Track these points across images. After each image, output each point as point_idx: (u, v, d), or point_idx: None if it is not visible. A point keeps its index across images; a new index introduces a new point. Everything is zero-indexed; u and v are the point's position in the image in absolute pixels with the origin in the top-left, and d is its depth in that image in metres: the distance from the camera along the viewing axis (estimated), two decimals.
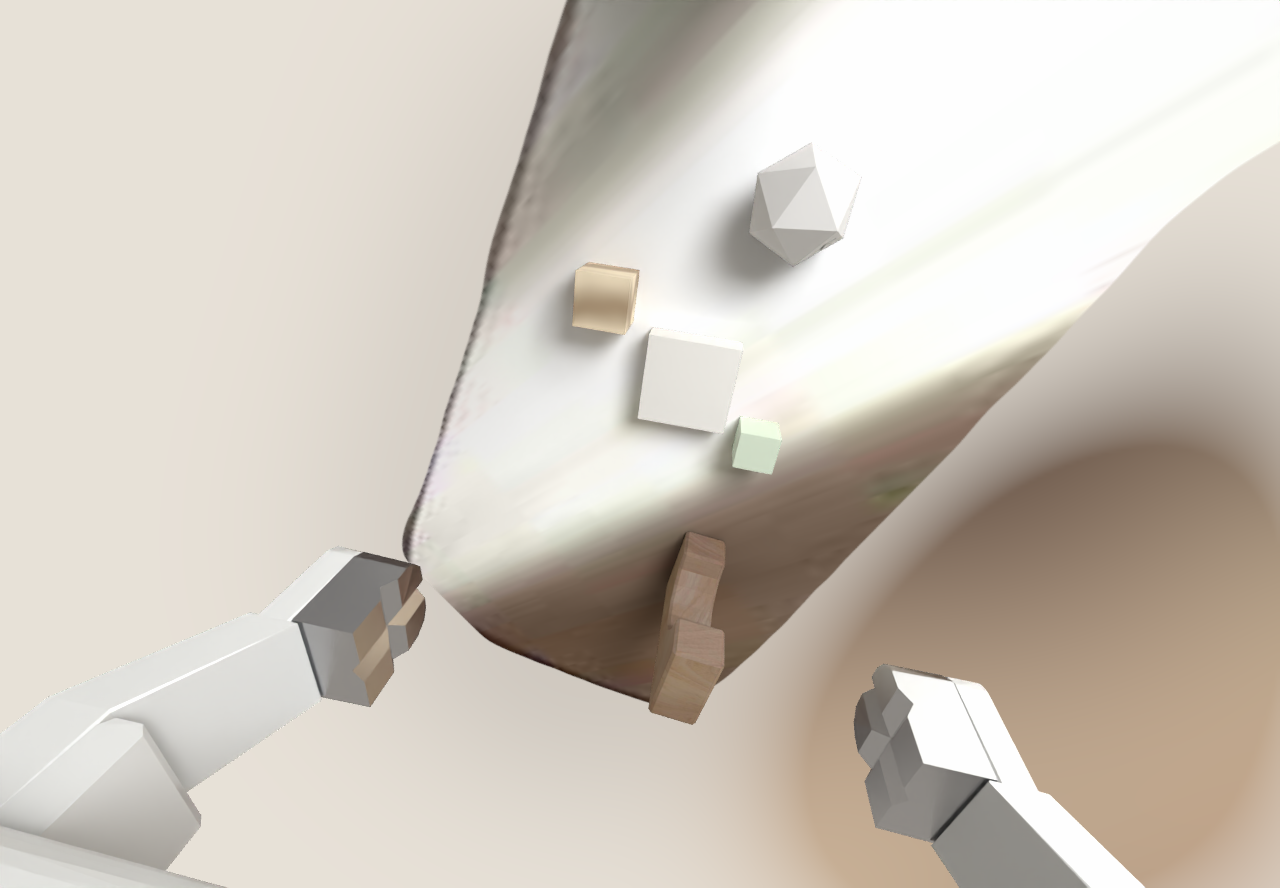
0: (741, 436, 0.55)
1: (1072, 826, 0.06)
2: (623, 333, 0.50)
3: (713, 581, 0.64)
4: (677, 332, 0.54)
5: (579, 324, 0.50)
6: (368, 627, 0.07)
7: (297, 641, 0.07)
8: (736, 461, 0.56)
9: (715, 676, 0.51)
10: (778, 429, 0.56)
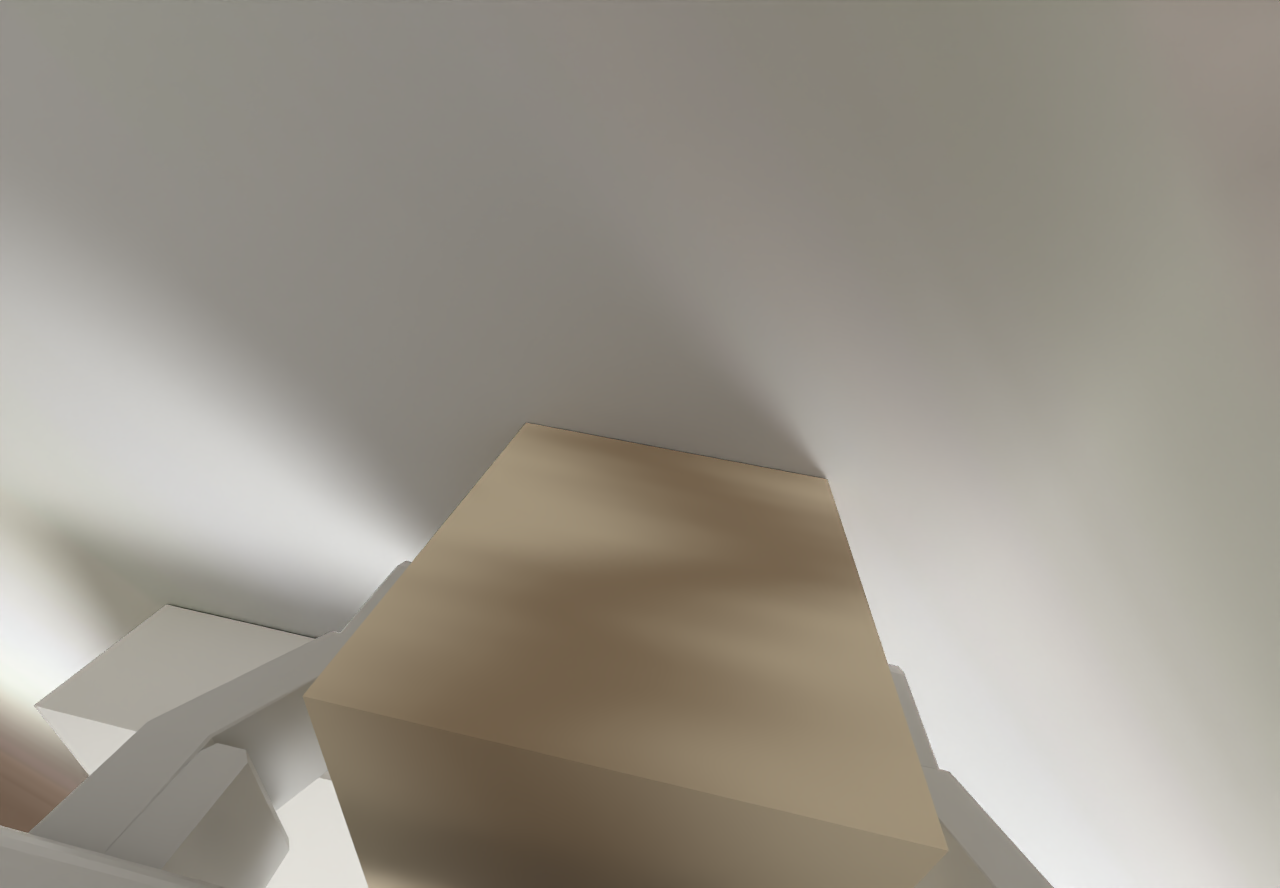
0: None
1: (967, 801, 0.06)
2: None
3: None
4: None
5: (351, 755, 0.05)
6: None
7: None
8: None
9: None
10: None
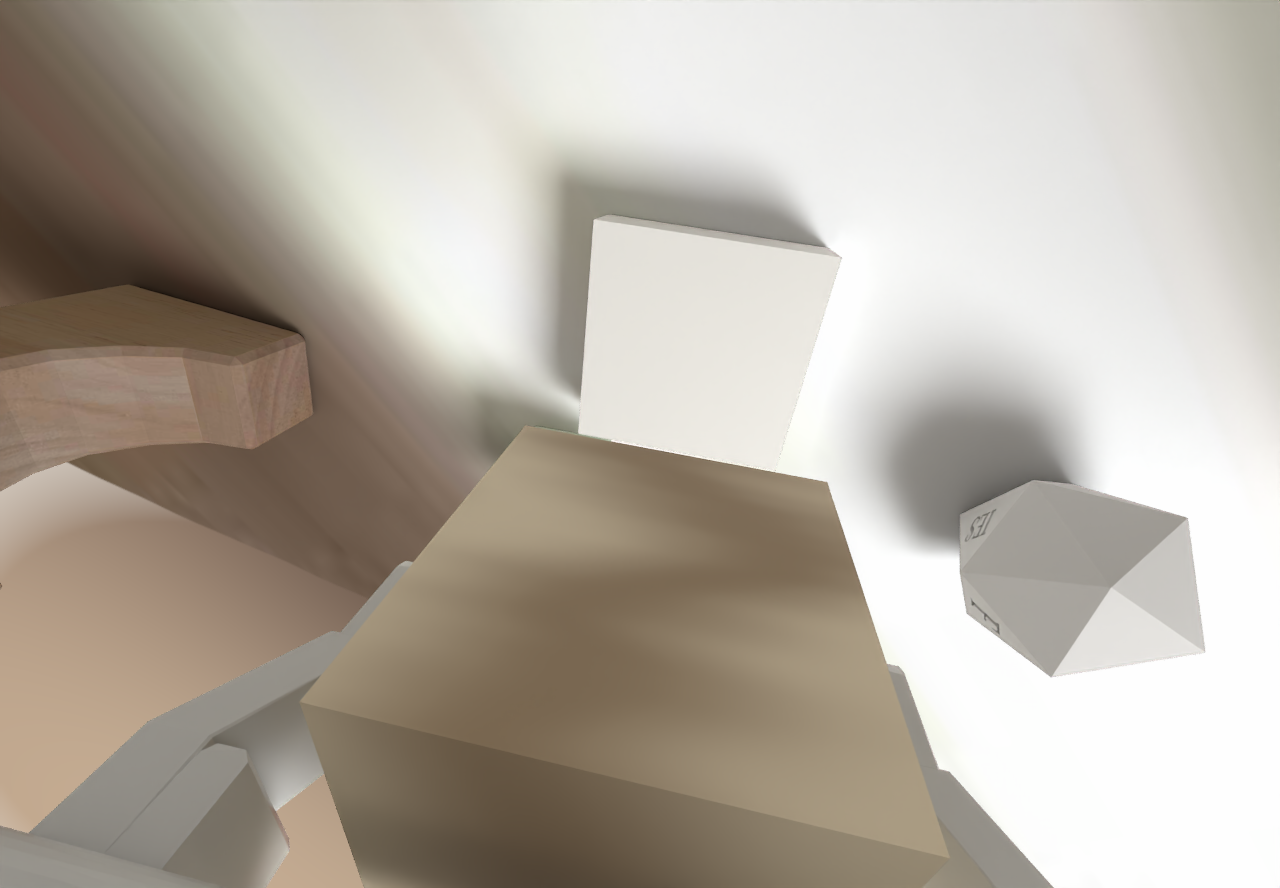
0: None
1: (967, 801, 0.06)
2: None
3: (192, 433, 0.26)
4: None
5: (349, 760, 0.05)
6: None
7: None
8: None
9: None
10: None
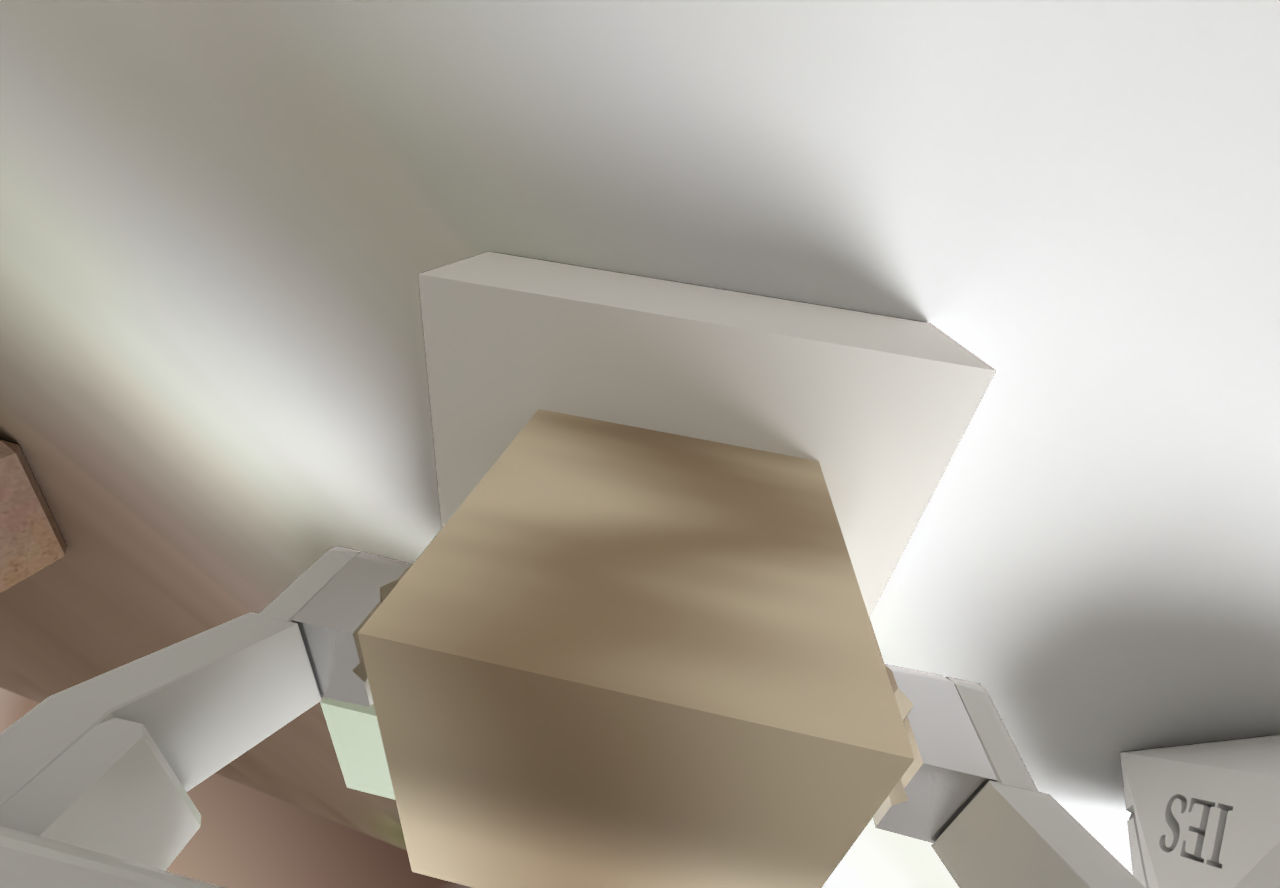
0: None
1: (1071, 825, 0.06)
2: (418, 870, 0.08)
3: None
4: None
5: (397, 689, 0.05)
6: None
7: (297, 641, 0.07)
8: (349, 715, 0.14)
9: None
10: None
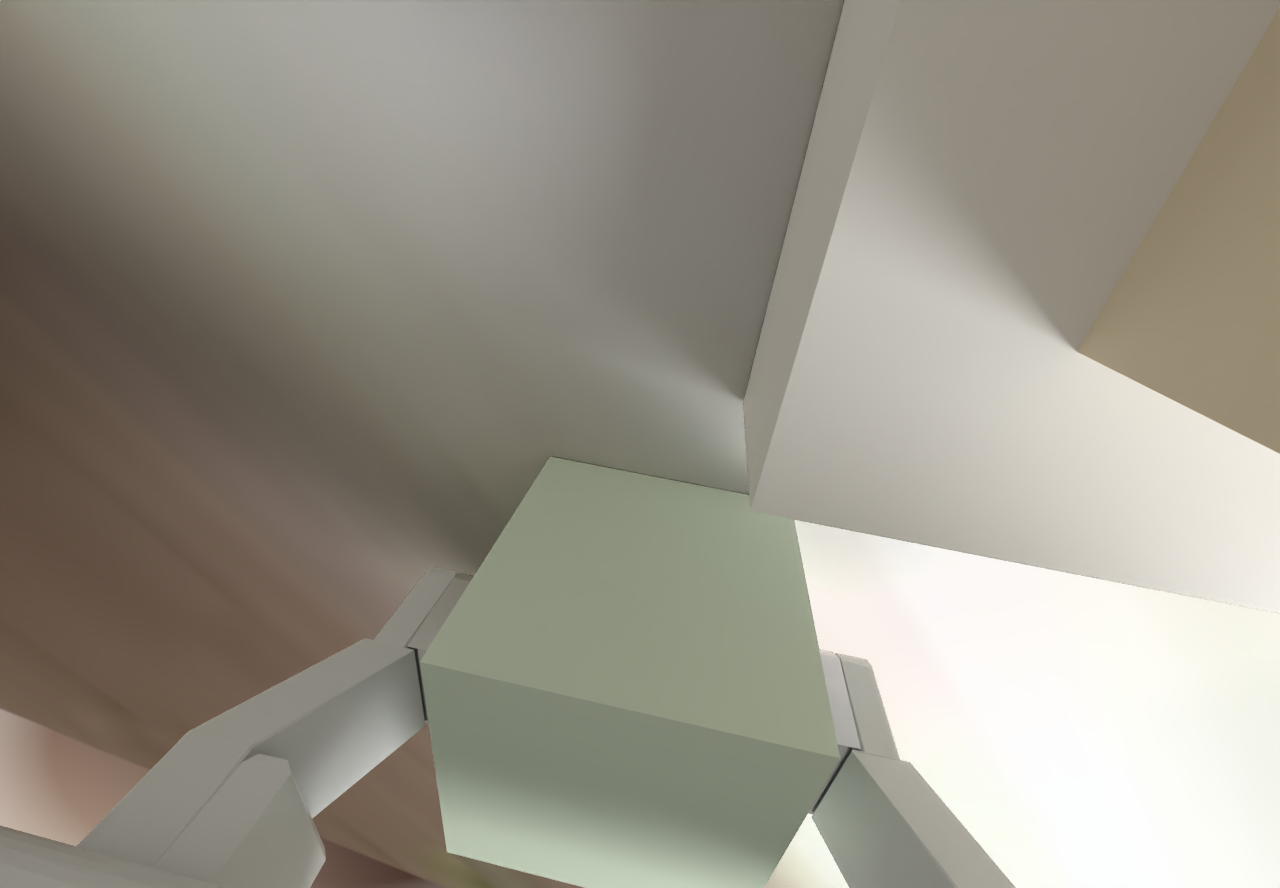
0: (793, 754, 0.05)
1: (927, 792, 0.06)
2: None
3: None
4: None
5: None
6: None
7: (412, 668, 0.07)
8: (493, 695, 0.05)
9: None
10: None
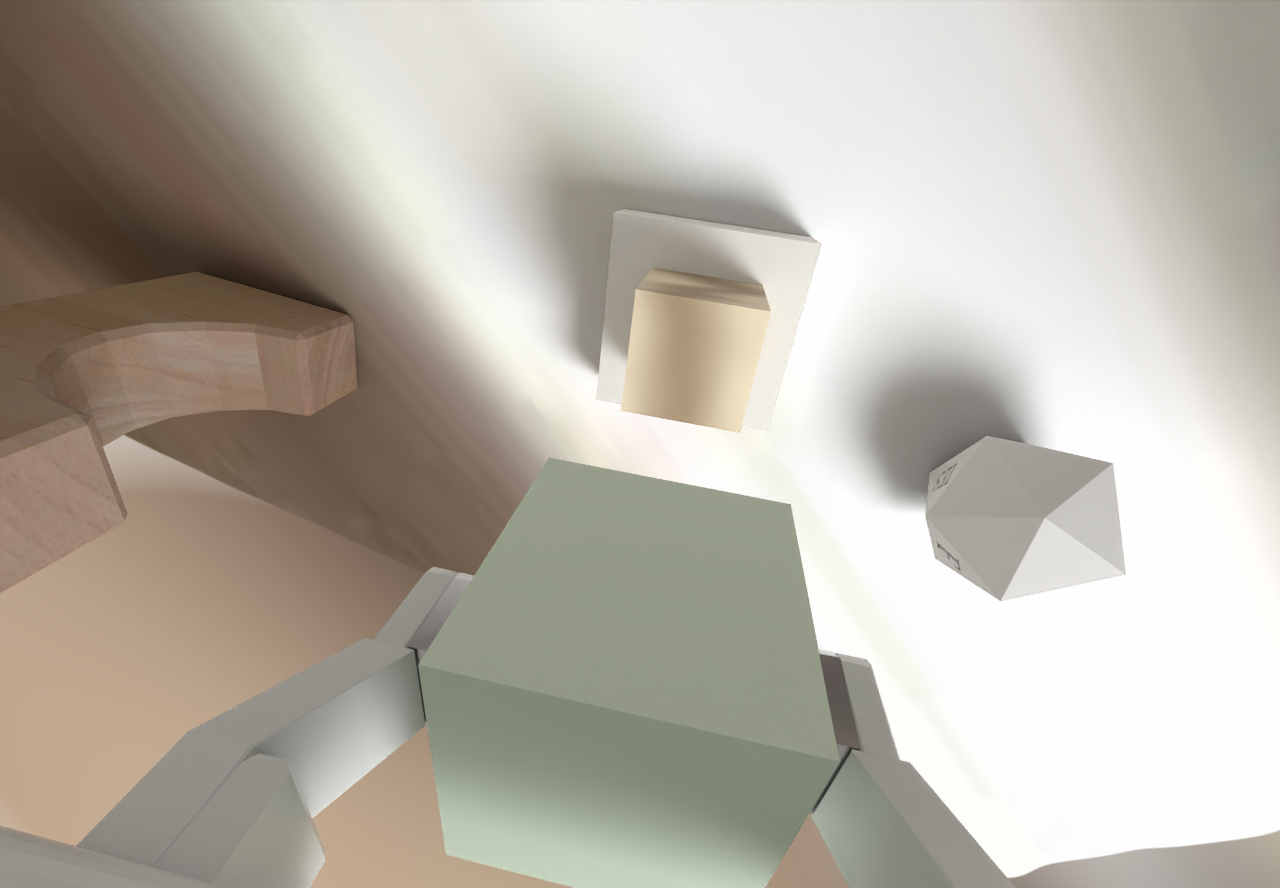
0: (792, 757, 0.05)
1: (927, 792, 0.06)
2: (624, 408, 0.23)
3: (259, 400, 0.30)
4: None
5: (641, 310, 0.20)
6: None
7: (412, 668, 0.07)
8: (491, 698, 0.05)
9: None
10: None
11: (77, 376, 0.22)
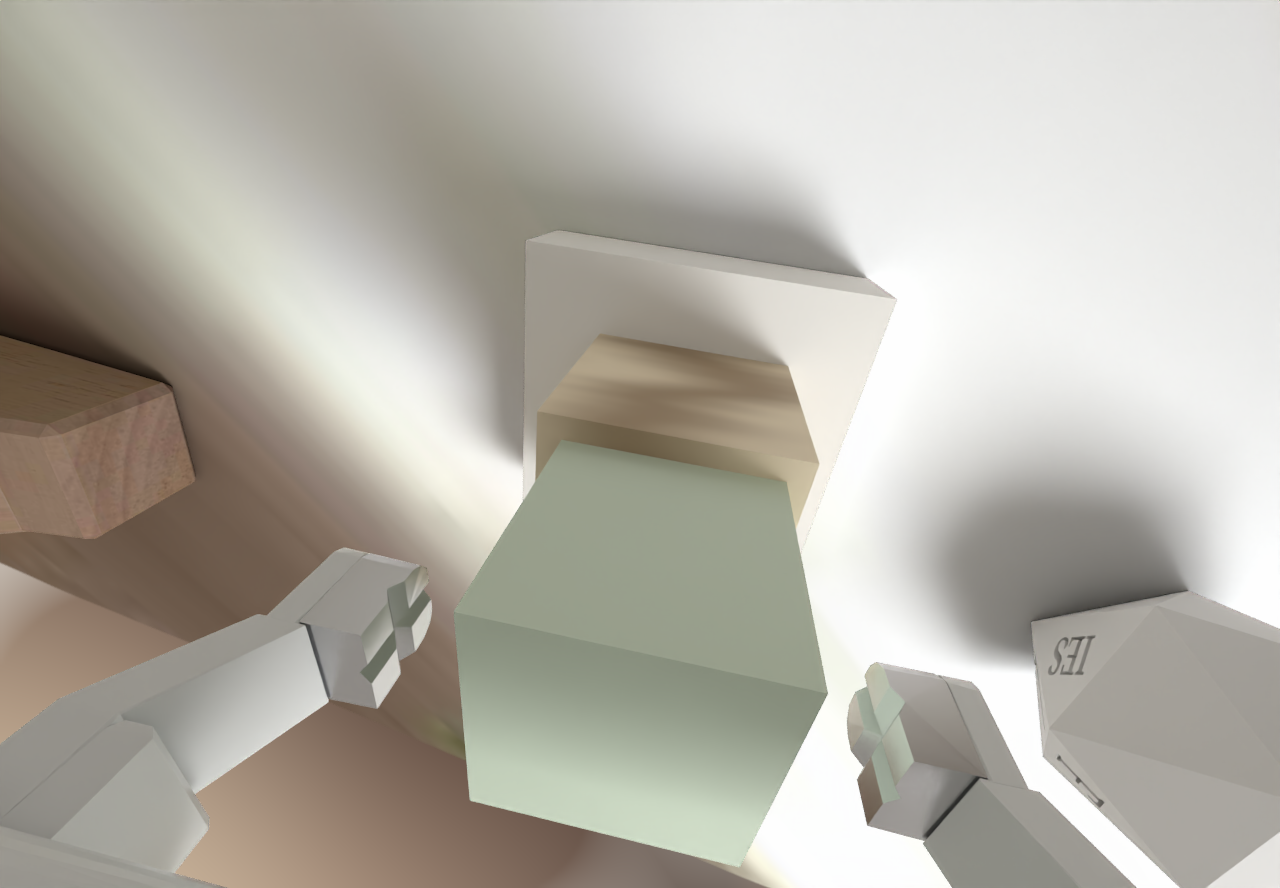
0: (786, 691, 0.06)
1: (1061, 823, 0.06)
2: None
3: (4, 522, 0.19)
4: None
5: (551, 448, 0.10)
6: (376, 629, 0.07)
7: (305, 643, 0.07)
8: (518, 642, 0.06)
9: None
10: None
11: None
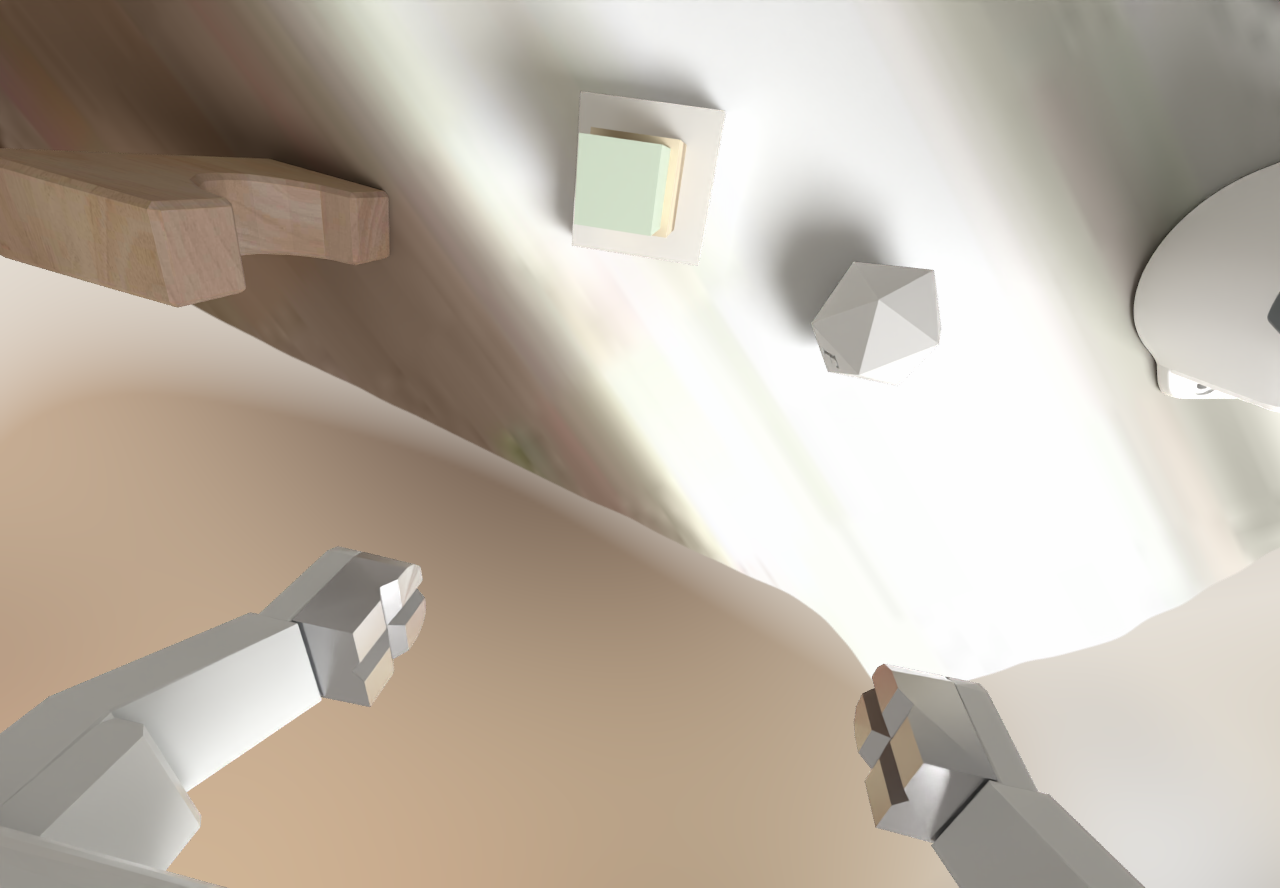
0: (653, 146, 0.26)
1: (1072, 826, 0.06)
2: None
3: (319, 248, 0.39)
4: None
5: None
6: (368, 627, 0.07)
7: (297, 641, 0.07)
8: (593, 141, 0.26)
9: (145, 293, 0.27)
10: (656, 228, 0.30)
11: None
